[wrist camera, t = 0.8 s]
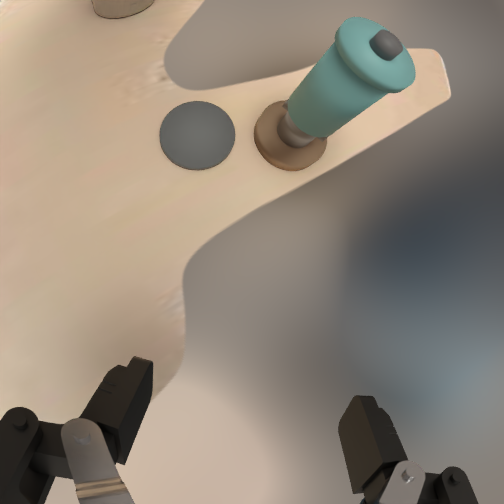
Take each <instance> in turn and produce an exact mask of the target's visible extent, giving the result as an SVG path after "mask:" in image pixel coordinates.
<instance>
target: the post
mask: <svg viewBox="0 0 504 504" xmlns="http://www.w3.org/2000/svg"><path fill="white" fill-rule="evenodd" d="M288 100H289V99H288ZM288 100H287V101H279V102H275V103H273V104H271V105H270V106H268V107H267V108H266V109H265V110H264V112H263V113H262V115H261V116H260V118H259V119H258V121H257V123H256V125H255V129H254V139H255V143H256V146H257V148H258V150H259V152H260V153H261V155H262V156H263V157H264V158H265V159H266V160H267V161H268V162H269V163H271V164H272V165H274V166H275V167H278V168H280V169H283V170H288V171H297V170H301V169H304V168H306V167H308V166H309V165H311V164H312V163H314V162H315V161H317V160H318V159H319V158H320V157H321V156H322V155H323V153H324V151H325V149H326V145H327V137H328V136H327V137H314V136H311V135H308V134H306V133H305V132H303V131H302V130H300V129H299V128H298V127H297V126H296V125H295V124H294V122H293V121H292V119H291V117H290V115H289V112H288Z"/></svg>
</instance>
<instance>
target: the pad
mask: <svg viewBox="0 0 504 504" xmlns="http://www.w3.org/2000/svg"><path fill="white" fill-rule="evenodd" d="M234 141H235V129H234V125H233V123H232V120H231V119H230V117H229V116H228V115H227V113H226V112H225V111H223V110H222V109H221V108H219V107H218V106H216V105H214V104H211V103H208V102H202V101H193V102H187V103H184V104H181V105H179V106H177V107H176V108H174V109H173V110H172V111H170V112H169V113H168V114H167V116H166V117H165V119H164V120H163V122H162V125H161V128H160V143H161V147H162V149H163V151H164V153H165V155H166V156H167V157H168V158H169V159H170V160H171V161H172V162H173V163H175V164H176V165H178V166H180V167H183V168H186V169H190V170H204V169H208V168H211V167H214V166H216V165H218V164H219V163H220V162H222V161H223V160H224V159H225V158H226V157H227V156H228V154H229V153H230V151H231V149H232V147H233V145H234Z"/></svg>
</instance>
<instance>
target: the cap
mask: <svg viewBox="0 0 504 504" xmlns="http://www.w3.org/2000/svg"><path fill="white" fill-rule="evenodd" d="M414 80H415V67H414V63H413V61H412V58H411V56H410V54H409V53H408V51H407V50H406V48H405V47H404V46H403V44H402V43H401V42H400V41H399V39H398V38H397V37H396V36H395V35H393V34H392V33H391V32H390V31H388V30H387V29H386V28H384V27H383V26H381V25H379V24H378V23H376V22H374V21H371V20H369V19H366V18H361V17H352V18H349V19H347V20H345V21H344V23H343V24H342V25H341V26H340V27H339V28H338V30H337V32H336V34H335V42H334V43H333V44H332V46H331V47H330V48H329V49H328V50H327V51H326V53H325V54H324V55H323V57H322V58H321V59H320V60H319V61H318V62H317V64H316V65H315V66H314V67H313V68H312V70H311V71H310V72H309V73H308V75H307V76H306V77H305V78H304V80H303V81H302V82H301V83H300V85H299V86H298V87H297V88H296V90H295V91H294V92H293V93H292V95H291V96H290V98H289V100H288V112H289V115H290V117H291V119H292V121H293V122H294V124H295V125H296V126H297V127H298V128H299V129H300V130H302V131H303V132H305V133H306V134H308V135H311V136H314V137H327V136H329V135H331V134H333V133H334V132H335V131H337V130H338V129H339V128H341V127H342V126H343V125H345V124H346V123H348V122H349V121H350V120H352V119H353V118H354V117H356V116H357V115H358V114H360V113H361V112H363V111H364V110H365V109H367V108H368V107H370V106H371V105H372V104H374V103H375V102H377V101H378V100H379V99H381V98H382V97H384V96H385V95H386V94H388V93H398V92H401V91H402V90H404V89H405V88H407V87H408V86H410V85H411V84H412V83H413V82H414Z"/></svg>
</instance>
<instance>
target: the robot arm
mask: <svg viewBox="0 0 504 504" xmlns="http://www.w3.org/2000/svg"><path fill="white" fill-rule="evenodd" d="M91 1H92V2H93V6H94V10H95V12H96V13H97V14H98V15H100V16H102V17H106V18H120V17H126V16H130V15H133V14H136V13H138V12H140V11H142V10H144V9H146V8H147V7H148V6H150V5H151V4H152V3H153V1H154V0H91ZM152 388H153V362H152V361H149V360H146V359H142V358H139V357H136V356H134V357H133V358H132V359H131V361H130V363H129V364H128V366H127V367H124V366H121V365H117V366H116V367H114V368H113V369H111V370H110V371H108V373H107V374H106V376H105V377H104V379H103V382H101V384H100V385H99V387H98V389H97V390H96V392H95V393H94V395H93V396H92V398H91V400H90V401H89V403H88V404H87V406H86V408H85V409H84V411H83V413H82V414H81V416H80V417H79V418H76V419H72V420H70V421H68V422H66V423H65V424H54V423H49V422H43V421H39V420H38V418H37V416H36V415H35V413H34V412H32V411H31V410H29V409H27V408H24V407H15V408H12V409H10V410H8V411H7V412H6V413H5V415H4V416H3V418H2V419H1V420H0V504H44V503H45V500H46V498H47V495H48V493H49V491H50V489H51V486H52V484H53V481H54V479H55V477H56V476H57V477H63V478H69V479H73V480H74V483H75V486H76V494H77V497H78V500H79V503H80V504H135V503H134V501H133V499H132V498H131V495H130V493H129V491H128V489H127V487H126V486H125V484H124V482H122V480H121V478H120V476H119V474H118V471H117V469H116V467H115V465H116V462H117V463H120V464H123V465H125V463H126V461H127V458H128V455H129V453H130V450H131V448H132V445H133V443H134V440H135V438H136V435H137V433H138V430H139V428H140V425H141V423H142V420H143V418H144V415H145V413H146V410H147V408H148V405H149V403H150V400H151V396H152ZM338 432H339V436H340V441H341V445H342V449H343V453H344V457H345V461H346V465H347V469H348V474H349V478H350V482H351V487H352V491H353V494H357V493H364V496H365V497H364V498H363V499H362V500H361V502H360V504H478V502H477V499H476V497H475V494H474V492H473V489H472V487H471V484H470V482H469V480H468V478H467V476H466V474H465V472H464V471H462V470H461V469H460V468H458V467H448V468H446V469H445V470H444V471H443V472H442V473H441V474H433V473H425V472H424V470H423V468H422V467H421V466H420V465H419V464H417V463H415V462H413V461H408V458H407V456H406V454H405V451H404V449H403V446H402V444H401V442H400V439H399V437H398V435H397V434H396V433H397V432H396V430H395V428H394V427H393V423H392V421H391V419H390V416H389V415H388V414H387V413H386V412H385V411H384V410H383V409H382V408H379V407H378V405H377V403H376V400H375V398H374V397H373V396H360V395H356V396H354V397H353V399H352V401H351V402H350V404H349V406H348V408H347V409H346V411H345V413H344V414H343V416H342V418H341V419H340V422H339V427H338Z"/></svg>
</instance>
